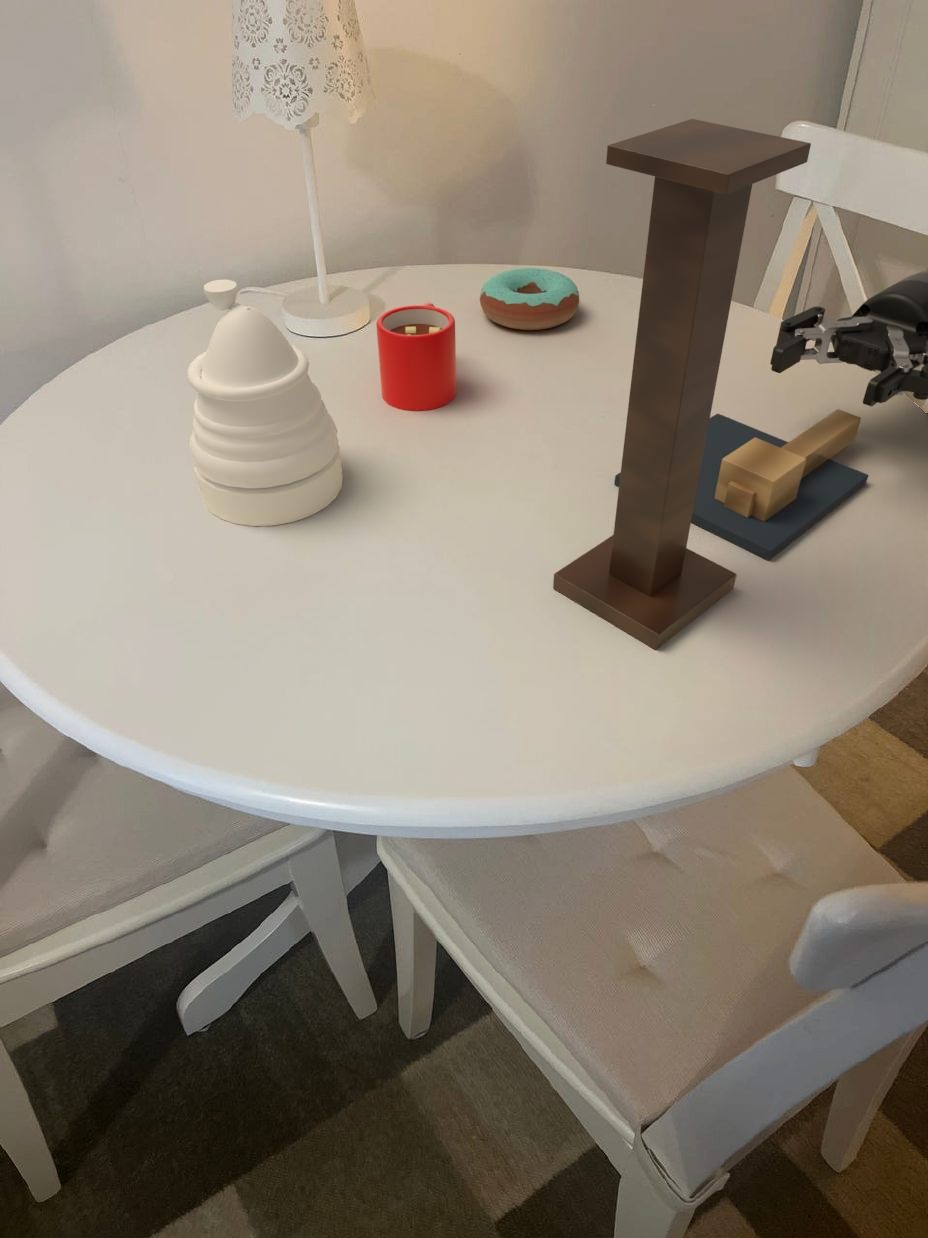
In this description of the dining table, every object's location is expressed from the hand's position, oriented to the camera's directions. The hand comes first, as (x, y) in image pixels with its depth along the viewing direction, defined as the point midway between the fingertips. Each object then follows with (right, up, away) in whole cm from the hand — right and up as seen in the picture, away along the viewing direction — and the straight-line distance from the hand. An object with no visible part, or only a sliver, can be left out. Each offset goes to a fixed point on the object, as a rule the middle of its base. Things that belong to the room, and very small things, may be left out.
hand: (821, 377), depth 77 cm
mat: (-5, -8, +6) cm, 11 cm away
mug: (-34, +5, +22) cm, 41 cm away
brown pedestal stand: (-16, -18, -5) cm, 24 cm away
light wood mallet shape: (0, -7, +6) cm, 9 cm away
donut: (-22, +17, +35) cm, 45 cm away
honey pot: (-47, -8, +7) cm, 49 cm away
